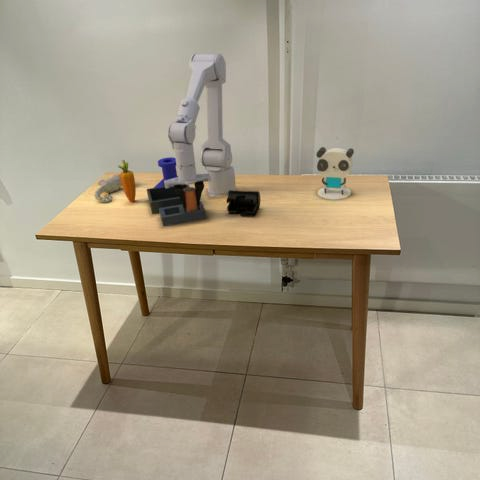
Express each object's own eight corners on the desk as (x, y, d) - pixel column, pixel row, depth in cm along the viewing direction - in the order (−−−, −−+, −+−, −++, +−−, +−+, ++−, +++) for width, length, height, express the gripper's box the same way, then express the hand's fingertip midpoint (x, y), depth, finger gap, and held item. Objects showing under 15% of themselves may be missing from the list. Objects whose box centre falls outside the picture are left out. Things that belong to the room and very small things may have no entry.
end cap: (260, 207, 157) (260, 188, 152) (256, 217, 151) (255, 197, 147) (232, 206, 159) (230, 187, 155) (226, 215, 153) (224, 195, 149)
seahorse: (118, 201, 166) (139, 172, 179) (87, 190, 165) (110, 162, 179) (117, 212, 169) (138, 184, 183) (87, 202, 169) (109, 174, 182)
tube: (197, 208, 154) (194, 186, 150) (199, 213, 151) (196, 190, 147) (185, 210, 154) (181, 187, 149) (187, 215, 151) (183, 192, 146)
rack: (160, 217, 155) (158, 208, 153) (202, 211, 157) (201, 201, 155) (163, 227, 149) (161, 217, 147) (206, 220, 151) (205, 210, 149)
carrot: (136, 206, 164) (127, 163, 155) (123, 206, 165) (113, 163, 156) (141, 200, 168) (133, 158, 159) (128, 200, 169) (119, 158, 160)
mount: (169, 176, 186) (166, 153, 180) (187, 176, 184) (184, 154, 178) (154, 190, 174) (150, 167, 169) (172, 191, 172) (169, 168, 167)
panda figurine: (312, 197, 161) (313, 153, 152) (320, 185, 169) (322, 142, 160) (347, 201, 157) (350, 155, 148) (353, 188, 165) (357, 144, 156)
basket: (189, 195, 169) (187, 182, 166) (195, 208, 159) (193, 195, 157) (148, 201, 167) (146, 189, 164) (152, 215, 157) (150, 202, 154)
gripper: (163, 171, 139) (170, 214, 147) (211, 164, 141) (215, 206, 149) (160, 164, 144) (167, 205, 152) (207, 157, 147) (211, 198, 155)
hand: (191, 205), depth 151 cm, fingers closed on tube, 4 cm apart
